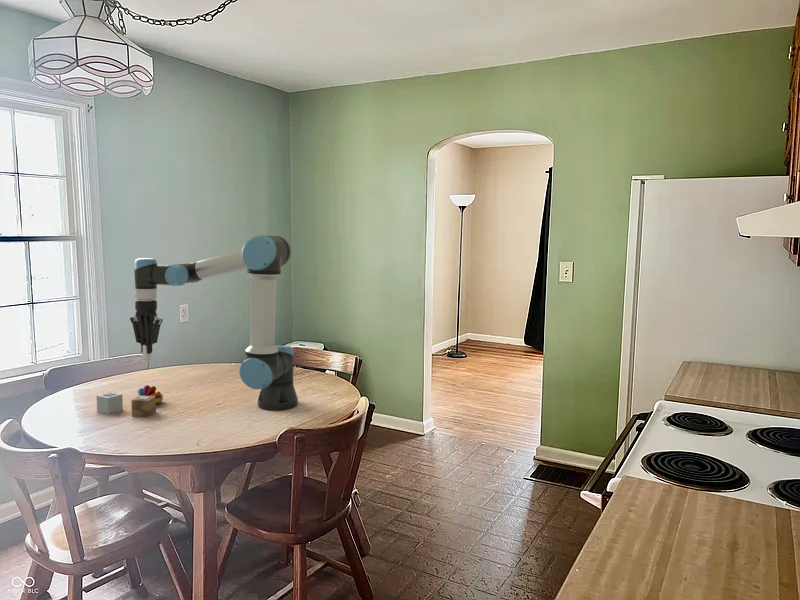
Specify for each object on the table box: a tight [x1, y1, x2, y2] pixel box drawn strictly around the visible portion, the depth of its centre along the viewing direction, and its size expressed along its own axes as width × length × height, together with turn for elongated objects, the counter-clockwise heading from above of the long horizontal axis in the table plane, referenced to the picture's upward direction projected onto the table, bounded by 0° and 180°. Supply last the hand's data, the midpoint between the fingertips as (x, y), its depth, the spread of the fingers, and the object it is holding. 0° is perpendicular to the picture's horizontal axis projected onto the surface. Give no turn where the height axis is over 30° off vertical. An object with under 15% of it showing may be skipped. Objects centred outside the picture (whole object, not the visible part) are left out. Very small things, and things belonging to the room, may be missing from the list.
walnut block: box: [131, 395, 157, 418], centre depth 212 cm, size 6×6×6 cm
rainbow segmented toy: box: [134, 384, 164, 404], centre depth 225 cm, size 8×10×7 cm
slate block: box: [96, 391, 124, 415], centre depth 215 cm, size 6×6×6 cm
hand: (146, 361), depth 223 cm, fingers closed
